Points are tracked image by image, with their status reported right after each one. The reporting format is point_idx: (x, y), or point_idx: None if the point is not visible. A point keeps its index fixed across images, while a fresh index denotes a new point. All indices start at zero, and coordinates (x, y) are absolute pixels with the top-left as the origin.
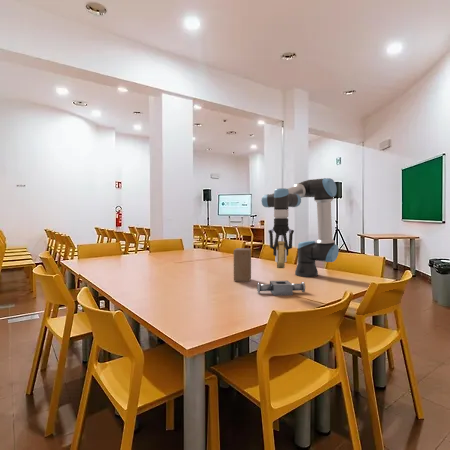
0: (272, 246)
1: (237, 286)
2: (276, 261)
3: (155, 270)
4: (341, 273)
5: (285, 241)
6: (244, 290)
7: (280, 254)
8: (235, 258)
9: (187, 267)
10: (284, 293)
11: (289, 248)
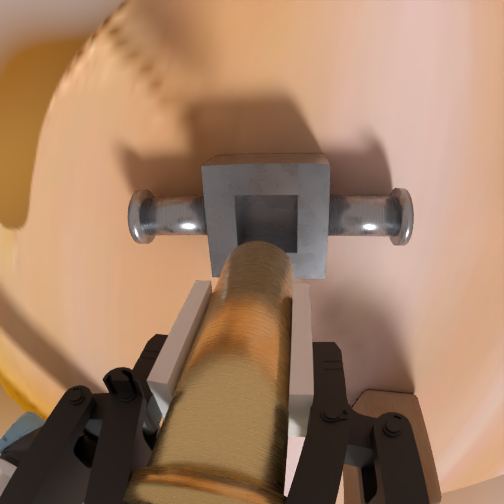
0: (387, 442)
1: (436, 330)
2: (307, 287)
3: None
4: (49, 407)
5: (117, 501)
6: (435, 267)
7: (255, 330)
8: (431, 469)
9: (450, 481)
10: (261, 154)
11: (103, 398)
